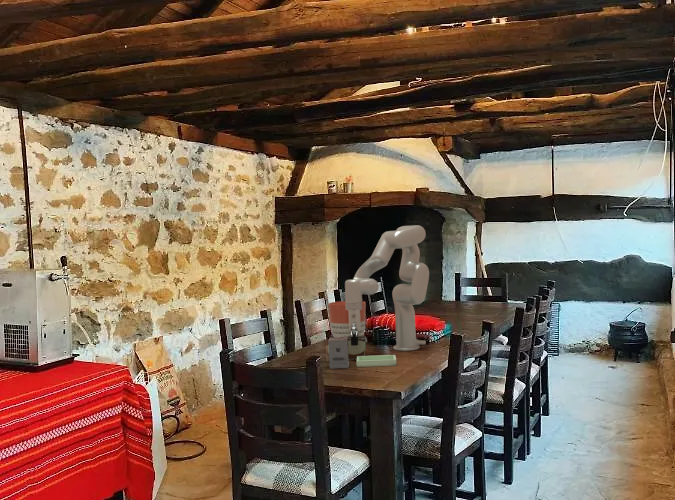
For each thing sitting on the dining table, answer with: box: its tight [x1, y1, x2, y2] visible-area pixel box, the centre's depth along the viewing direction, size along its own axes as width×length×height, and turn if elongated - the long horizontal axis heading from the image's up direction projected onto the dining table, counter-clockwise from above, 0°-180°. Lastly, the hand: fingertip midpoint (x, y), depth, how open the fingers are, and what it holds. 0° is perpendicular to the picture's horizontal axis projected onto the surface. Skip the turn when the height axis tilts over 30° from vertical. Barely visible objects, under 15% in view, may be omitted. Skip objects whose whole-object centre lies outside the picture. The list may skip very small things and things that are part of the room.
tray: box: [355, 354, 397, 368], centre depth 266 cm, size 17×11×2 cm, turn 87°
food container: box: [345, 335, 368, 361], centre depth 281 cm, size 12×6×10 cm, turn 71°
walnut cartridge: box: [325, 344, 329, 363], centre depth 276 cm, size 5×5×7 cm
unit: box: [327, 336, 350, 370], centre depth 264 cm, size 8×9×12 cm
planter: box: [328, 300, 367, 337], centre depth 321 cm, size 20×20×21 cm
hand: (354, 343), depth 280 cm, fingers open, 9 cm apart
